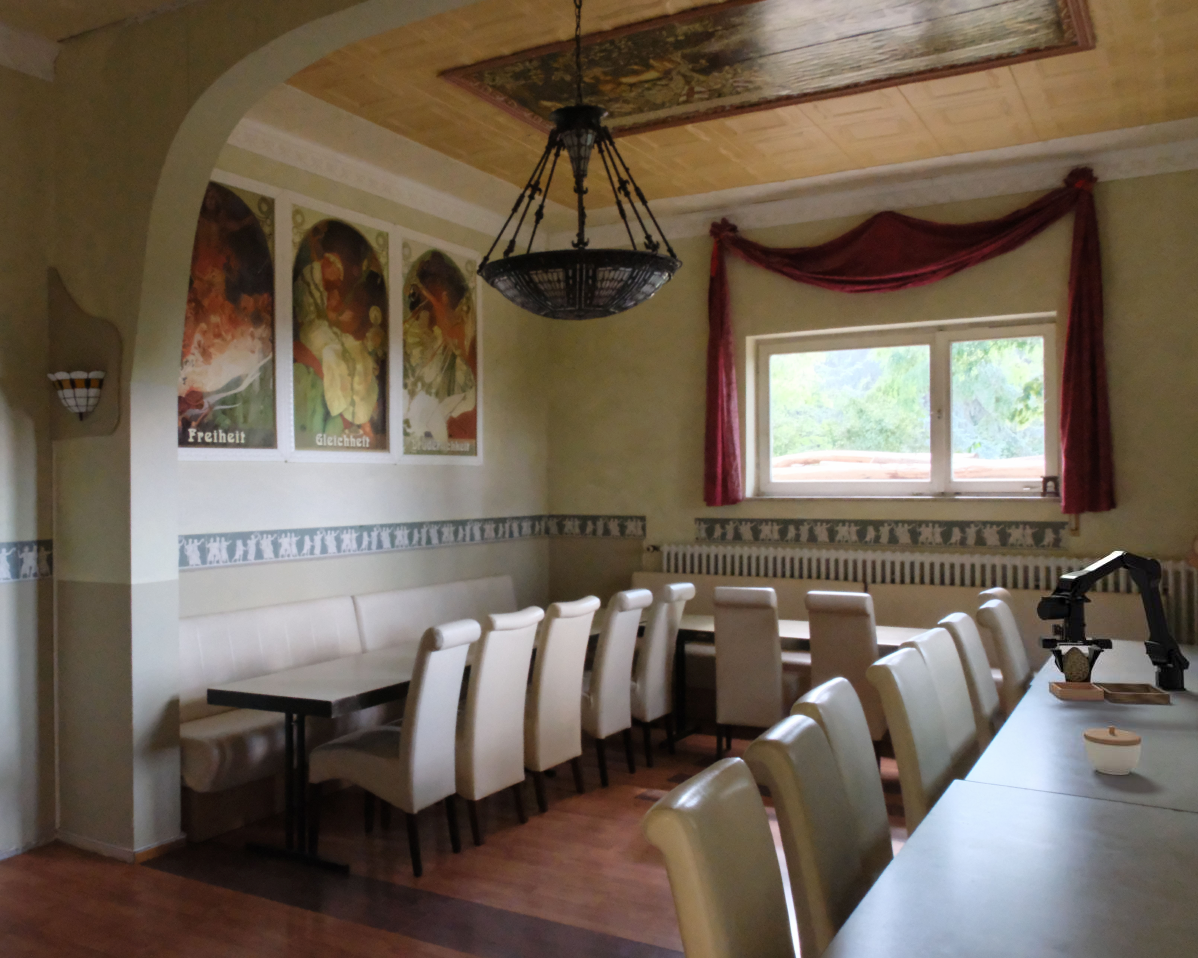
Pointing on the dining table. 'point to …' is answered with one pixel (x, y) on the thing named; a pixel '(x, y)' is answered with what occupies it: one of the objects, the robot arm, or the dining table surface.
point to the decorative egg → (1075, 665)
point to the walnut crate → (1149, 696)
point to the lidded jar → (1112, 750)
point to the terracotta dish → (1076, 690)
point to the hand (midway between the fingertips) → (1075, 672)
